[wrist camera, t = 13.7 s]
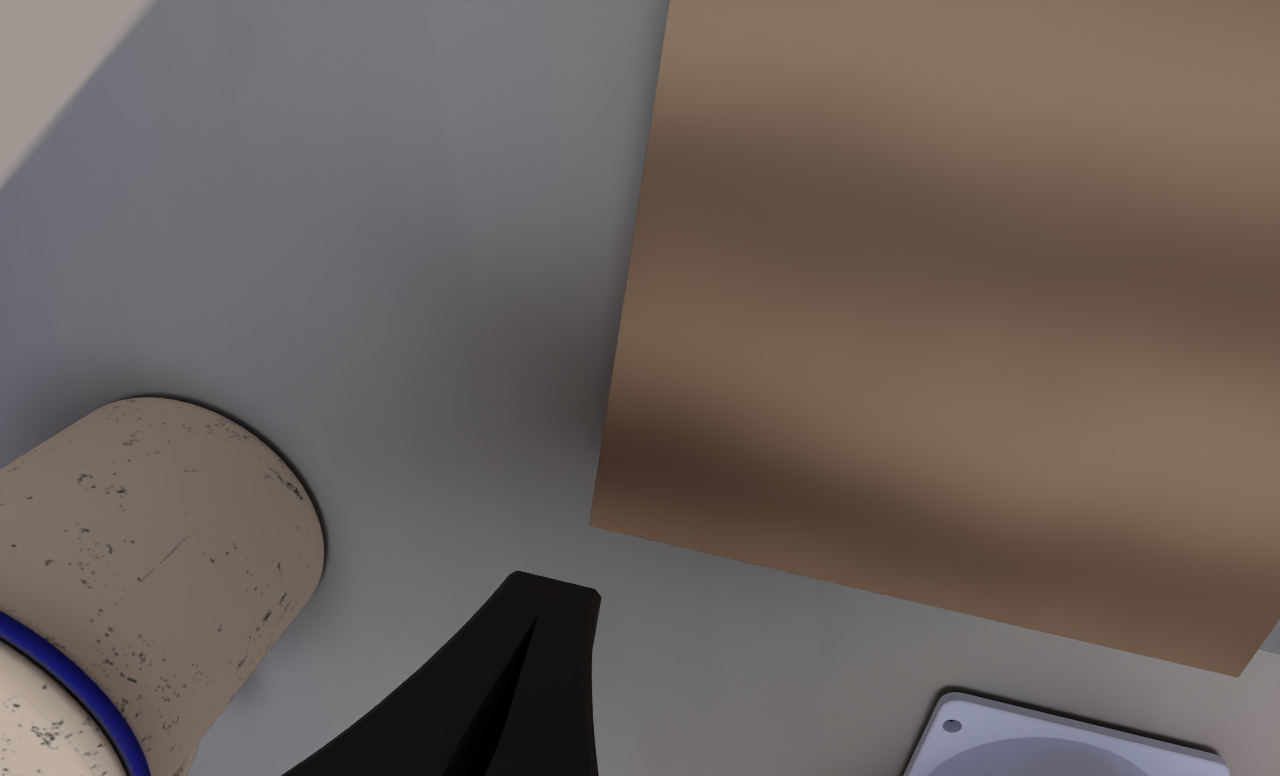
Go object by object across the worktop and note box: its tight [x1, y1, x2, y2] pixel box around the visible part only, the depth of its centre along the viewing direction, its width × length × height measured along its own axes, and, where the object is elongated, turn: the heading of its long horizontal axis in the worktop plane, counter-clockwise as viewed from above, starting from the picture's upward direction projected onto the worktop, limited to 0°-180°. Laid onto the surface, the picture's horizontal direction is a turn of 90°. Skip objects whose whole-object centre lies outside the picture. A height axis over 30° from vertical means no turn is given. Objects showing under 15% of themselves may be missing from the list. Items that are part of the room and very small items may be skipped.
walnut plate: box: [589, 0, 1280, 677], centre depth 16 cm, size 16×15×3 cm
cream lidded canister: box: [0, 397, 324, 776], centre depth 21 cm, size 12×9×12 cm
